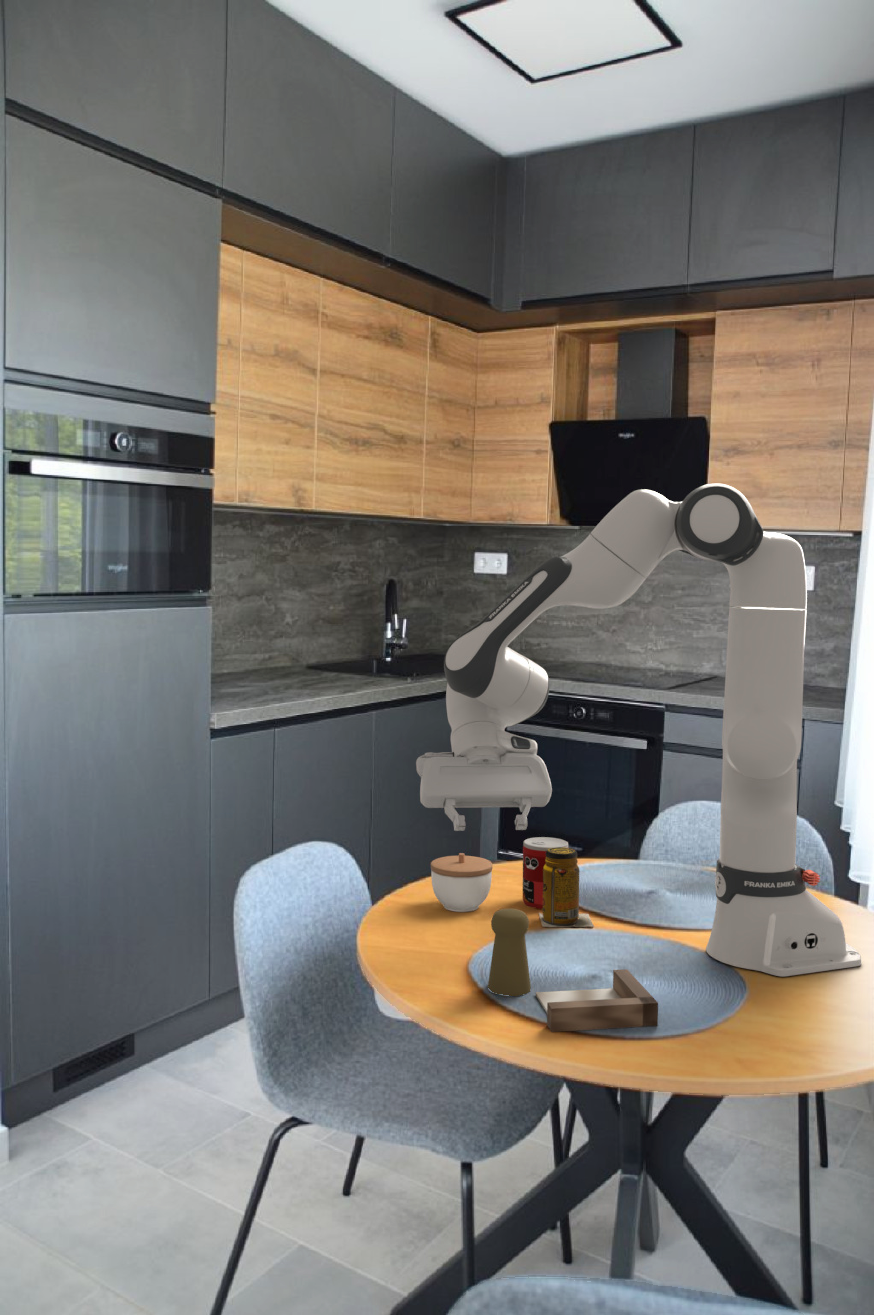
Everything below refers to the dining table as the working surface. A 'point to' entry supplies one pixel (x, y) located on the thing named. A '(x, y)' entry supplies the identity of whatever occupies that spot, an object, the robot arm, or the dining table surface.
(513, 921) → the olive game pawn
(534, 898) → the canned food
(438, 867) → the lidded jar
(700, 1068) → the dining table surface
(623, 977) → the corner lip
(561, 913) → the condiment
